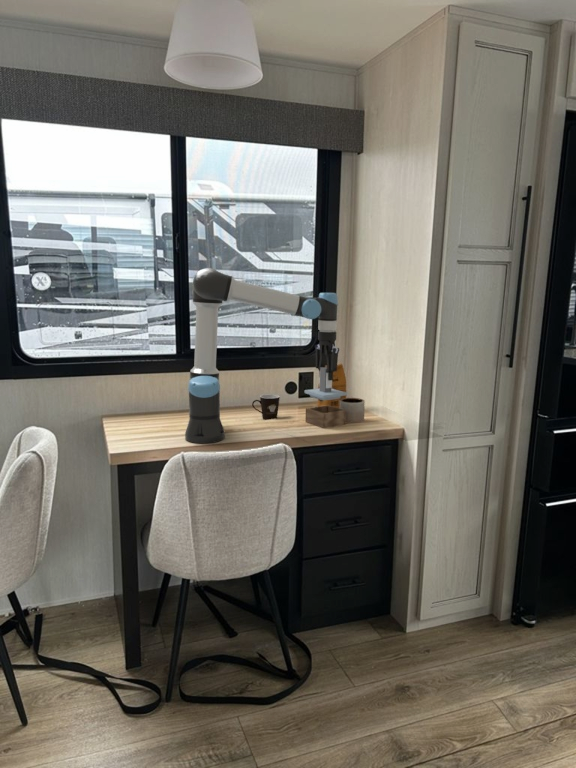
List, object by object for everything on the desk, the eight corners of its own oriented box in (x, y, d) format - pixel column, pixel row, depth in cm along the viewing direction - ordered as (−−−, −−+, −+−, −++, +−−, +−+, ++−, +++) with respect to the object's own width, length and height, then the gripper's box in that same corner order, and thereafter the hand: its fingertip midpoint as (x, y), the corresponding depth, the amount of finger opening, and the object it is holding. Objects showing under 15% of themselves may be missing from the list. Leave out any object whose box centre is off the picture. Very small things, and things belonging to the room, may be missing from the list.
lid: (322, 401, 236) (323, 371, 233) (304, 396, 246) (305, 366, 243) (346, 398, 243) (347, 368, 240) (327, 393, 253) (328, 364, 250)
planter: (346, 425, 246) (346, 403, 245) (334, 419, 256) (335, 398, 255) (368, 423, 250) (369, 401, 249) (356, 417, 260) (357, 396, 259)
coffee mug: (280, 416, 261) (280, 394, 259) (278, 421, 253) (278, 398, 251) (254, 415, 262) (254, 393, 261) (251, 420, 254) (251, 397, 252)
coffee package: (314, 410, 274) (315, 364, 270) (336, 407, 280) (337, 362, 276) (326, 414, 265) (327, 367, 261) (348, 411, 271) (349, 365, 267)
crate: (323, 430, 238) (323, 414, 237) (305, 424, 248) (305, 408, 247) (345, 426, 245) (345, 410, 244) (327, 420, 255) (327, 404, 253)
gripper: (347, 332, 235) (345, 389, 239) (321, 328, 248) (320, 383, 252) (333, 333, 230) (331, 391, 235) (307, 329, 243) (306, 384, 248)
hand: (325, 386), depth 243 cm, fingers closed on lid, 3 cm apart
